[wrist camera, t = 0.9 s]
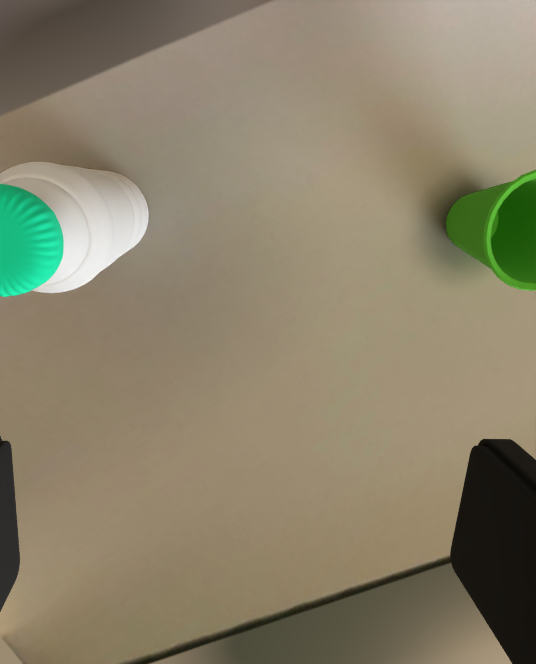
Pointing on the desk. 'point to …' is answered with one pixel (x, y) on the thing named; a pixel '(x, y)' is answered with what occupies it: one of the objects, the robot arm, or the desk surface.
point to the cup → (499, 229)
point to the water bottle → (64, 225)
